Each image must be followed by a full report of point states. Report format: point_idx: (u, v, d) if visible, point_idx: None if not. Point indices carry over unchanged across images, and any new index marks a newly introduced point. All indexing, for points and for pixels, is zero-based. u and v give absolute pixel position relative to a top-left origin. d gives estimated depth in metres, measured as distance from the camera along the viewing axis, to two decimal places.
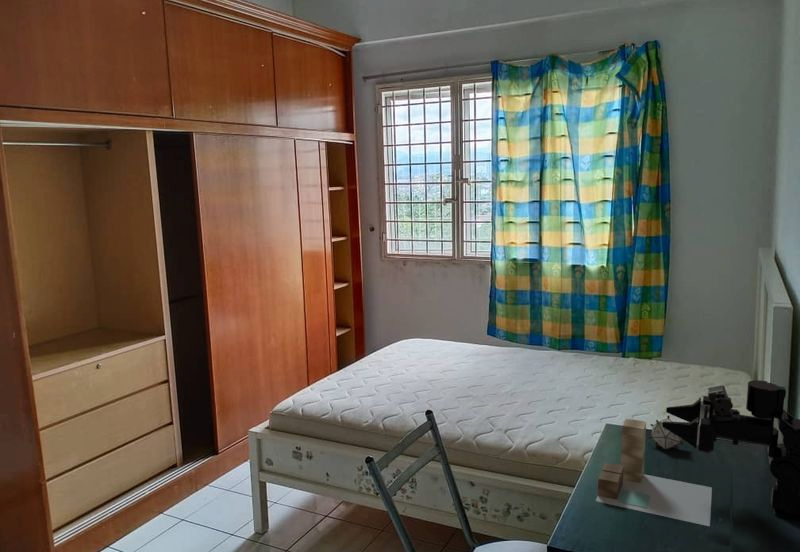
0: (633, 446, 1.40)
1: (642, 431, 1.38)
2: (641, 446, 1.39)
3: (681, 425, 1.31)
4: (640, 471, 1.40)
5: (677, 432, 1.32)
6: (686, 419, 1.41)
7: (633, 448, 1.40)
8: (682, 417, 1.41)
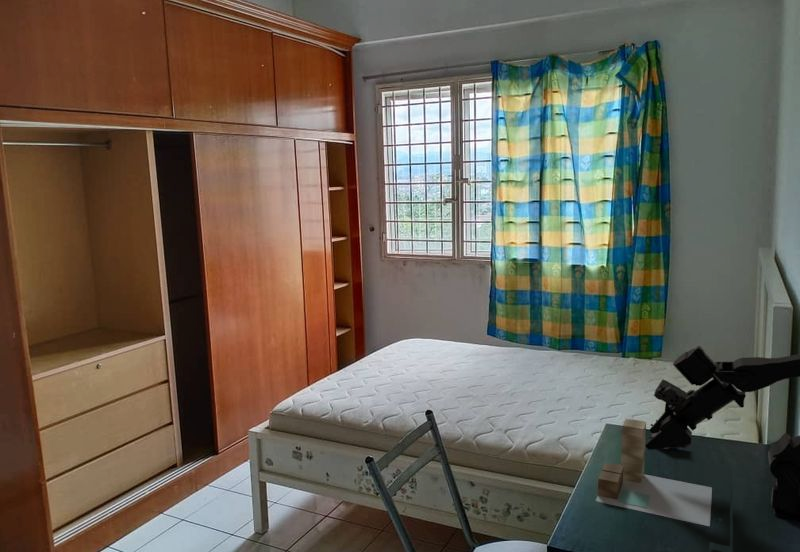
0: (633, 446, 1.40)
1: (642, 431, 1.38)
2: (641, 446, 1.39)
3: (657, 437, 1.34)
4: (640, 471, 1.40)
5: (660, 445, 1.34)
6: None
7: (633, 448, 1.40)
8: None
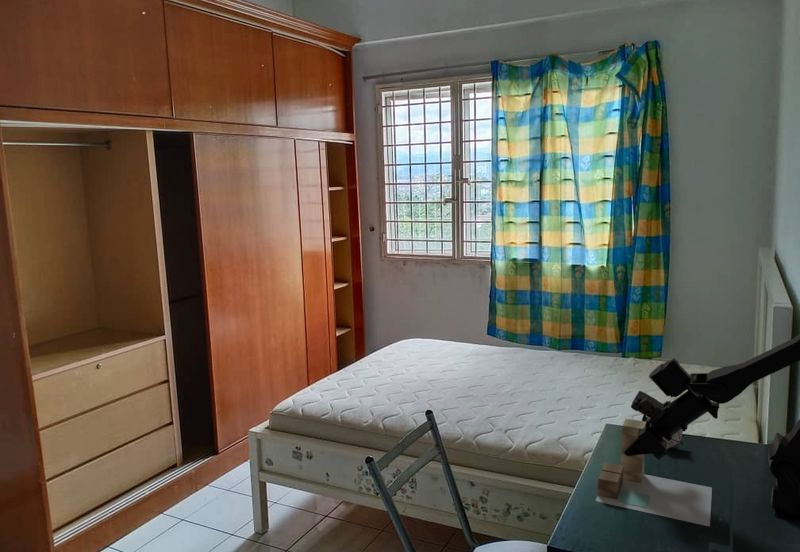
0: None
1: None
2: None
3: (635, 444, 1.38)
4: (640, 471, 1.40)
5: (638, 451, 1.38)
6: None
7: None
8: None
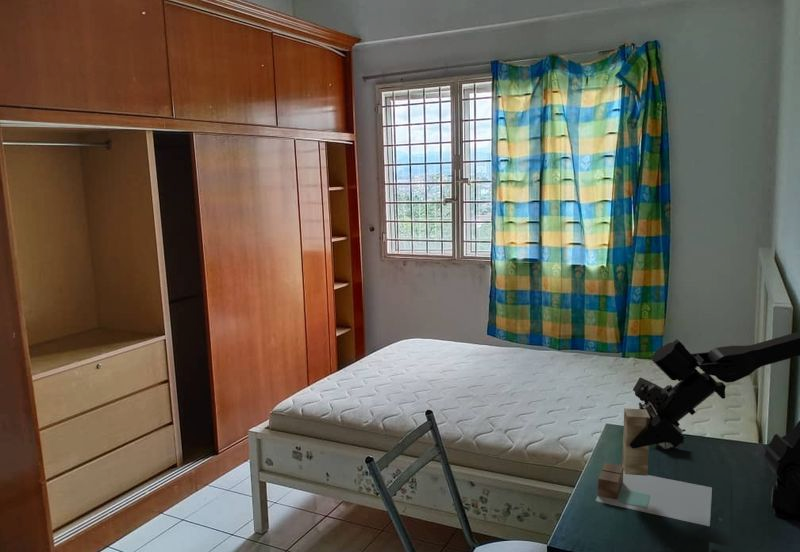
0: None
1: None
2: None
3: (643, 435, 1.29)
4: (646, 463, 1.31)
5: (646, 442, 1.29)
6: None
7: None
8: None
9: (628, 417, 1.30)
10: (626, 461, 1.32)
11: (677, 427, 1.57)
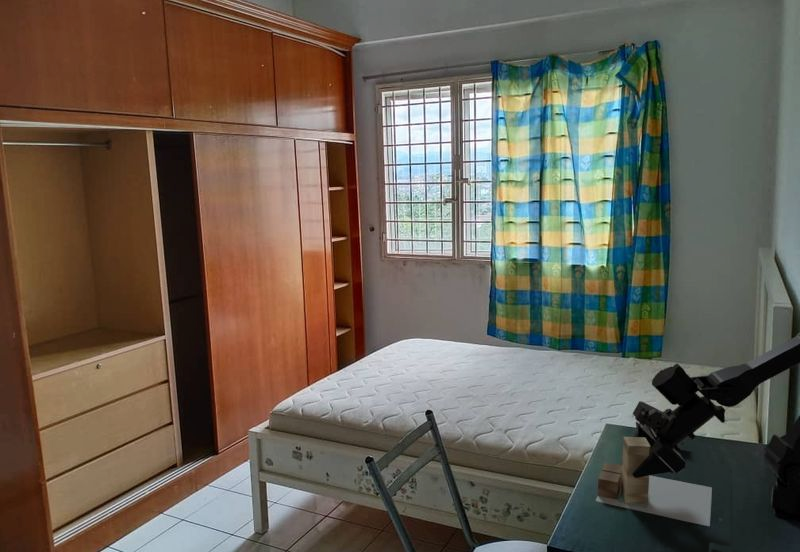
0: None
1: None
2: None
3: (646, 464, 1.26)
4: (647, 491, 1.31)
5: (649, 472, 1.26)
6: None
7: None
8: None
9: (629, 446, 1.30)
10: (627, 490, 1.31)
11: None
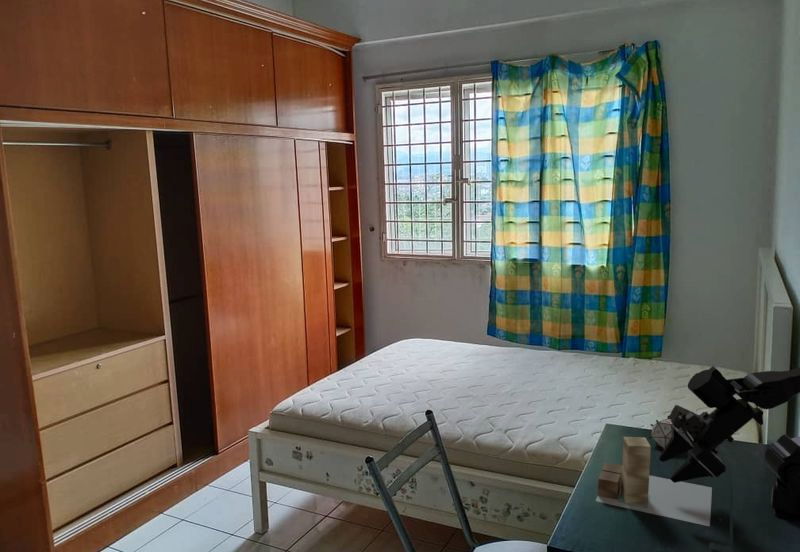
0: (639, 466, 1.30)
1: (649, 449, 1.29)
2: (648, 465, 1.30)
3: (685, 469, 1.25)
4: (647, 491, 1.31)
5: (688, 476, 1.25)
6: (681, 452, 1.35)
7: (639, 468, 1.30)
8: (676, 454, 1.35)
9: (629, 446, 1.30)
10: (627, 490, 1.31)
11: None
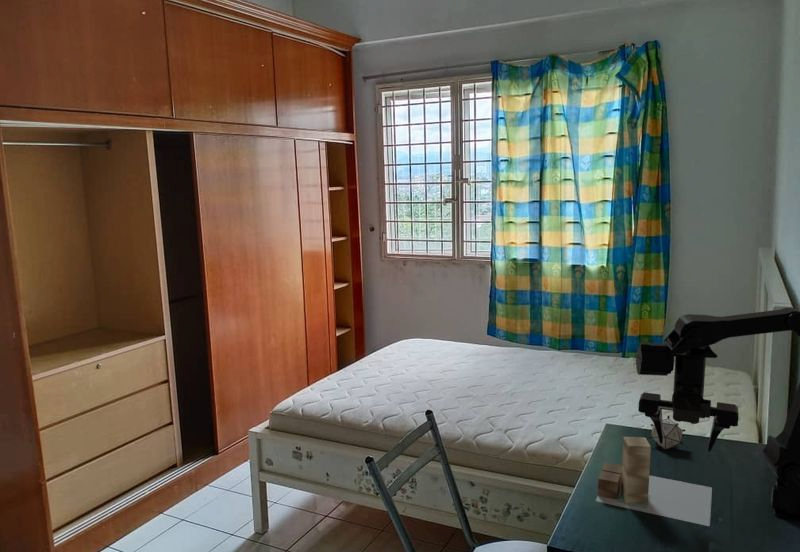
0: (639, 466, 1.30)
1: (649, 449, 1.29)
2: (648, 465, 1.30)
3: None
4: (647, 491, 1.31)
5: None
6: None
7: (639, 468, 1.30)
8: (662, 425, 1.34)
9: (629, 446, 1.30)
10: (627, 490, 1.31)
11: (677, 427, 1.57)
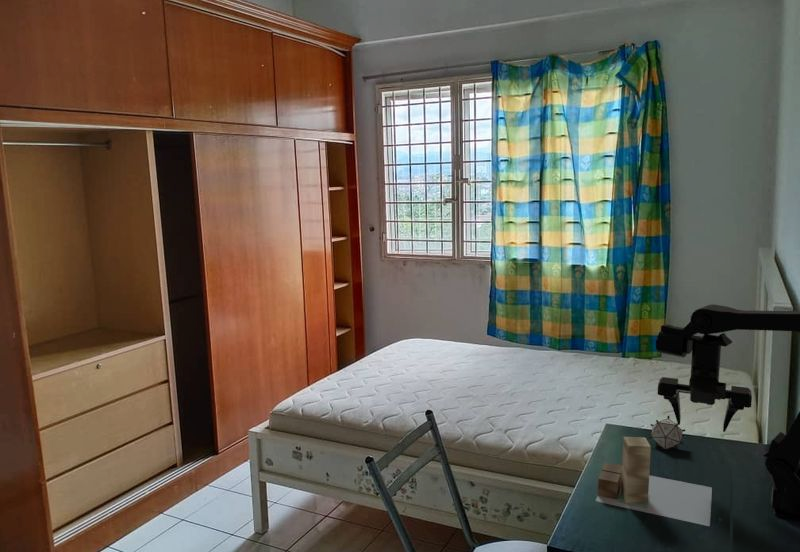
0: (639, 466, 1.30)
1: (649, 449, 1.29)
2: (648, 465, 1.30)
3: None
4: (647, 491, 1.31)
5: None
6: (679, 403, 1.44)
7: (639, 468, 1.30)
8: None
9: (629, 446, 1.30)
10: (627, 490, 1.31)
11: (677, 427, 1.57)
